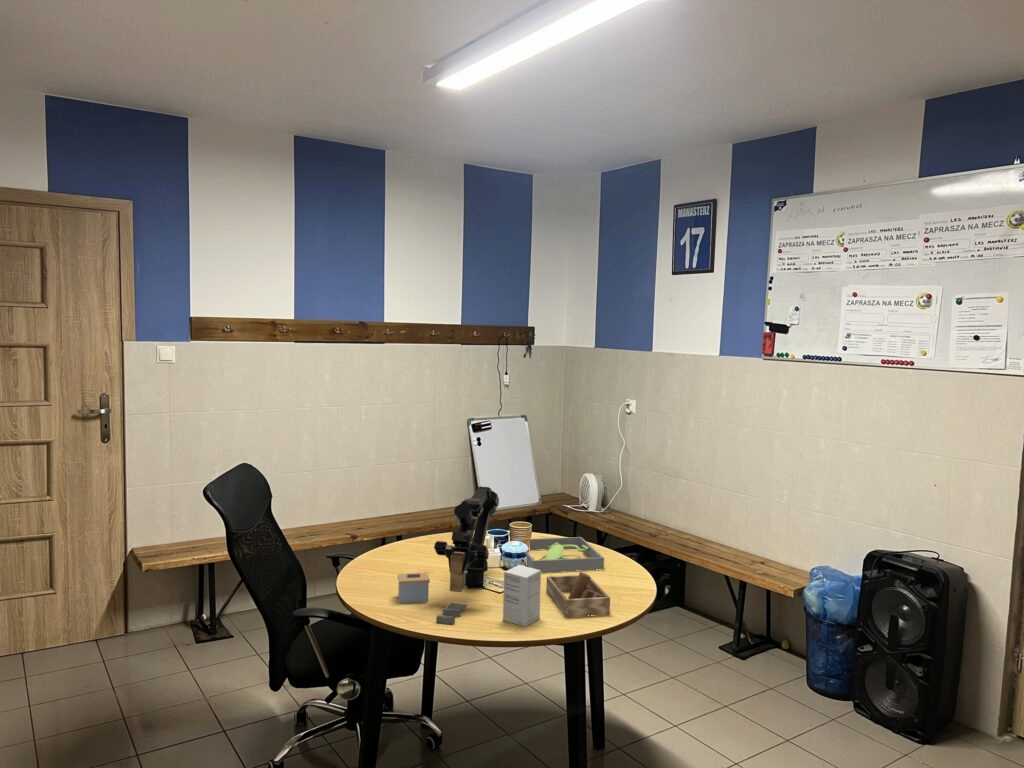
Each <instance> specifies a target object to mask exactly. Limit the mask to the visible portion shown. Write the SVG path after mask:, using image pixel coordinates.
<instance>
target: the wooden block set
mask: <svg viewBox="0 0 1024 768" xmlns="http://www.w3.org/2000/svg"><path fill="white" fill-rule="evenodd" d="M578 575H579V576H578V578H577V580H576V582H575V584H574V586H573V589H572V591H571V592H569V593H570V594H569V595H568V596H567V597H568V598H567V599H580V598H598V597H604V596H603V595H602V594H600V593H598V592H594V591H591V590H590V588H587V585H588V582H589V580H590V578H592V577H591V575H589V574H587V573H585V572H584V571H579V574H578Z"/></svg>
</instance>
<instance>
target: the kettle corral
mask: <svg viewBox="0 0 1024 768" xmlns="http://www.w3.org/2000/svg"><path fill="white" fill-rule="evenodd" d="M529 539H530V551H529V552H532V551H531V550H537V551H539V550H538V549H548V547H549V546H551V545H553V544H554V543H556V542H557V543H559V544H560V545H577V546H578V547H579V548H580V549H585V548H583V547H582V545H585V546H586V547H588V548H589V549H588V550H587V551H584V552H582V553H583V554H584V555H585V556H586V555H587V556H588V557H589V558H588V557H587V556H586V557H581V558H575V557H574V558H569V559H561V558H559V559H554V560H545V559H543V560H539V559H537V560H536V559H535V558H534V559H533V558H532V555H531V554H530V553H529V552H528V554H527V566H528V567H530V568H534V569H538V570H541V574H543V573H542V572H553V573H563V572H562V571H573V572H577V571H576V570H594V571H600V570H599V569H604V568H605V557H604V556H603V555H601V553H599V552H598V551H597V550H596V549H595V548H594V547H593V546H592V545H591V544H590V543H588V541H586V540H585V539H584V538H583V537H582V536H575V537H571V536H570V537H549V538H548V537H546V538H529ZM575 549H576V548H573V547H566V548H564V550H575ZM576 550H577V549H576ZM527 566H526V567H527ZM596 569H598V570H596Z"/></svg>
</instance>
